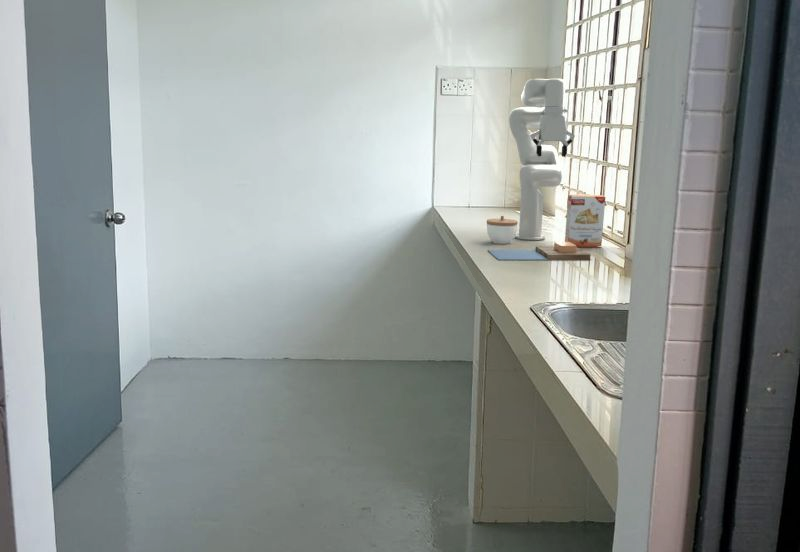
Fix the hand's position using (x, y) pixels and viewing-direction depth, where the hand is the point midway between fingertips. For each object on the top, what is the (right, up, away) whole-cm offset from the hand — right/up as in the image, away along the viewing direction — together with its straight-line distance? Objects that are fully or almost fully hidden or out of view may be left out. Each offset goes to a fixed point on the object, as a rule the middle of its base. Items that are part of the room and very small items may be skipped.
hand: (551, 156), depth 313 cm
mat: (-15, -39, -10) cm, 43 cm away
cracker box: (+15, -35, +14) cm, 40 cm away
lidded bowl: (-17, -33, +19) cm, 42 cm away
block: (+4, -36, -9) cm, 37 cm away
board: (+2, -39, -8) cm, 40 cm away
